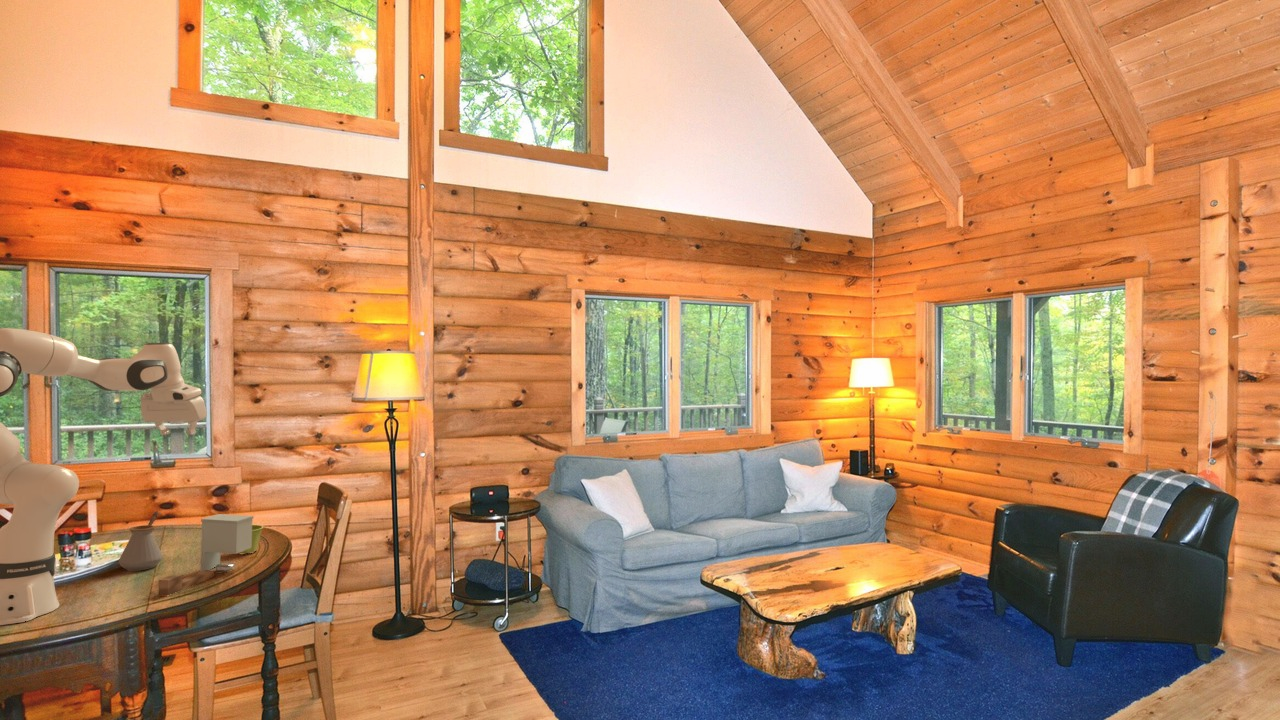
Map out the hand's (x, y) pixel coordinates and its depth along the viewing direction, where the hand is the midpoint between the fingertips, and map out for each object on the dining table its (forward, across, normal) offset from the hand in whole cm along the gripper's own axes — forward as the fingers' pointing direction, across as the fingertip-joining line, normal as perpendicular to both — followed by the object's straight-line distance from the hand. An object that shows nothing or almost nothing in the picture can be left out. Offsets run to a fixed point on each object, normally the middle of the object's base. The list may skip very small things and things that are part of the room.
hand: (178, 434), depth 211 cm
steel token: (+44, +12, -7) cm, 46 cm away
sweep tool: (+40, +13, -22) cm, 47 cm away
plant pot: (+48, +4, +12) cm, 50 cm away
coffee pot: (+43, -18, -5) cm, 47 cm away
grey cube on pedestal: (+44, +12, -6) cm, 46 cm away
